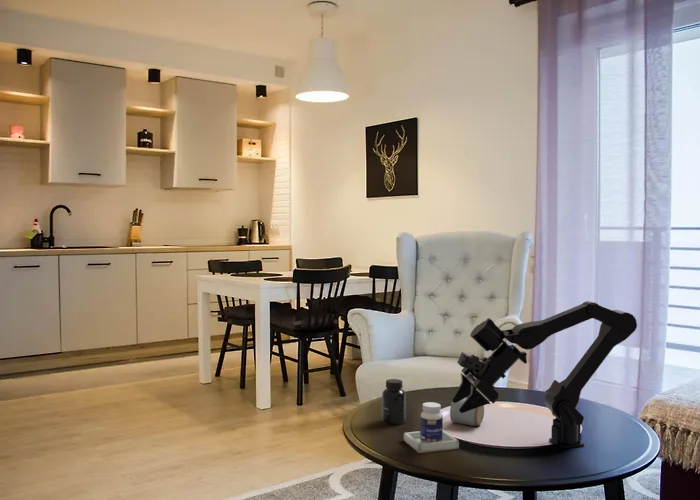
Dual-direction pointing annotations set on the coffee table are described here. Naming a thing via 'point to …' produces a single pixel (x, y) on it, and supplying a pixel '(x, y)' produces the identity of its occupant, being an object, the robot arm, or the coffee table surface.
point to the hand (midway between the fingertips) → (456, 406)
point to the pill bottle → (431, 423)
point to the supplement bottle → (393, 403)
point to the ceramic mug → (466, 414)
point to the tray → (446, 443)
